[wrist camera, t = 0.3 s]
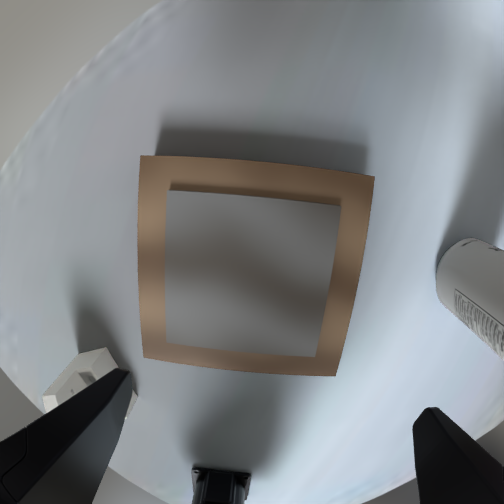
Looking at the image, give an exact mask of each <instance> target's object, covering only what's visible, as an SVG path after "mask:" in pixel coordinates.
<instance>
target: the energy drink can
mask: <svg viewBox="0 0 504 504" xmlns="http://www.w3.org/2000/svg"><path fill="white" fill-rule="evenodd" d="M436 291H437V295H438V298H439V300H440V302H441V303H442V304H443V305H444V306H445V307H446V308H447V309H448V310H449V311H450V312H451V313H453V314H454V315H455V316H456V317H457V318H458V319H459V320H461V321H462V322H463V323H464V324H465V325H466V326H467V327H468V328H469V329H470V330H472V331H473V332H474V333H475V334H476V335H477V336H478V337H479V338H480V339H481V340H482V341H483V342H485V343H486V344H487V345H488V346H489V347H490V348H491V349H492V350H493V351H494V352H495V353H496V354H497V355H498V356H499V357H500V358H501V359H502V360H503V361H504V250H502V249H499V248H497V247H495V246H492V245H490V244H488V243H485V242H483V241H481V240H478V239H475V238H466V239H463V240H461V241H459V242H457V243H456V244H454V245H453V246H451V247H450V248H449V249H448V250H447V251H446V252H445V253H444V255H443V256H442V258H441V260H440V262H439V265H438V268H437V272H436Z"/></svg>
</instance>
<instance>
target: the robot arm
mask: <svg viewBox="0 0 504 504" xmlns="http://www.w3.org/2000/svg"><path fill="white" fill-rule="evenodd" d="M132 392H133V389H132V380H131V373H130V372H129V371H128V370H124V369H121V368H115V369H113V370H112V371H110V372H109V373H107V374H106V375H104V376H103V377H101V378H100V379H98V380H97V381H95V382H93V383H92V384H90V385H89V386H87V387H86V388H84V389H83V390H81V391H80V392H78V393H77V394H75V395H74V396H72V397H71V398H69V399H68V400H66V401H65V402H63V403H61V404H60V405H58V406H57V407H55V408H54V409H52V410H51V411H49V412H48V413H46V414H44V415H43V416H41V417H40V418H38V419H37V420H35V421H34V422H32V423H30V424H29V425H27V427H24V428H22V429H21V430H20V431H18V432H16V433H15V434H13V435H11V436H9V437H8V438H6V439H4V440H3V441H1V442H0V504H92V502H93V499H94V497H95V494H96V492H97V490H98V487H99V485H100V483H101V480H102V478H103V475H104V473H105V471H106V468H107V466H108V464H109V461H110V459H111V457H112V454H113V452H114V450H115V447H116V445H117V443H118V440H119V437H120V434H121V431H122V427H123V424H124V420H125V417H126V414H127V410H128V407H129V404H130V401H131V398H132ZM412 430H413V442H414V457H415V470H416V477H417V484H418V491H419V499H420V504H504V467H503V466H502V465H501V464H500V463H499V462H498V461H497V460H496V459H495V458H494V457H492V456H491V455H490V454H489V453H488V452H487V451H486V450H485V449H483V448H482V447H481V446H480V445H479V444H478V443H477V442H476V441H475V440H474V439H472V438H471V437H470V436H469V435H468V434H467V433H466V432H465V431H463V430H462V429H461V428H460V427H459V426H458V425H457V424H456V423H455V422H453V421H452V420H451V419H450V418H449V417H448V416H447V415H446V414H444V413H443V412H442V411H441V410H440V409H439V408H437V407H428V408H426V409H424V411H423V412H422V413H421V414H420V416H419V417H418V418H417V420H416V421H415V422H414V424H413V429H412ZM250 479H251V475H250V474H248V473H237V472H227V471H218V470H210V469H203V468H195V467H194V468H192V483H193V492H194V495H193V500H192V504H244V500H247V495H248V490H249V485H250Z"/></svg>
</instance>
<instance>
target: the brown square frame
mask: <svg viewBox="0 0 504 504" xmlns="http://www.w3.org/2000/svg"><path fill="white" fill-rule="evenodd" d="M374 179H375V177H374V176H369V175H363V174H356V173H350V172H343V171H337V170H330V169H322V168H315V167H307V166H299V165H290V164H281V163H271V162H260V161H249V160H236V159H222V158H205V157H183V156H140V172H139V192H138V285H139V306H140V321H141V334H142V346H143V356H144V358H149V359H155V360H161V361H167V362H173V363H179V364H186V365H193V366H200V367H208V368H216V369H225V370H234V371H245V372H256V373H269V374H285V375H306V376H336V373H337V369H338V365H339V362H340V358H341V354H342V351H343V347H344V343H345V339H346V335H347V331H348V327H349V323H350V318H351V314H352V310H353V305H354V301H355V296H356V291H357V286H358V281H359V276H360V271H361V266H362V261H363V255H364V249H365V243H366V237H367V231H368V225H369V218H370V211H371V204H372V196H373V188H374Z"/></svg>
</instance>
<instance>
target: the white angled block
mask: <svg viewBox="0 0 504 504" xmlns="http://www.w3.org/2000/svg"><path fill="white" fill-rule="evenodd" d="M115 368H119V367H118V366H117V364H116V362H115V361H114V359H113V358H112V356H111V354H110V352H109V351H108V349H107V347H105V348H101V349H96V350H92V351H88V352H84V353H80V354H78V355H77V356H76V357H75V358H74V359H73V361H72V362H71V363H70V364H69V365H68V366H67V367H66V369H65V370H64V371H63V372H62V373H61V374H60V375H59V377H58V378H57V379H56V380H55V381H54V382H53V384H52V385H51V386H50V387H49V388H48V390H47V391H46V392H45V393H44V394H43V395H42V399H43V402H44V406H45V410H46V413H48V412H49V411H51V410H52V409H54V408H55V407H57V406H58V405H60V404H61V403H63V402H65V401H66V400H68V399H69V398H71V397H72V396H74V395H75V394H77V393H78V392H80V391H81V390H83V389H84V388H86V387H87V386H89V385H90V384H92V383H93V382H95V381H97V380H98V379H100V378H101V377H103V376H104V375H106V374H107V373H109V372H110V371H112V370H113V369H115ZM137 398H138V396H137V395H136V393H135V392H134V390H133V392H132V398H131V401H130V404H129V407H128V410H127V414H126V417H125V419H127V418H128V416H129V414H130V412H131V410H132V408H133V406H134V404H135V402H136V400H137Z"/></svg>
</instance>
